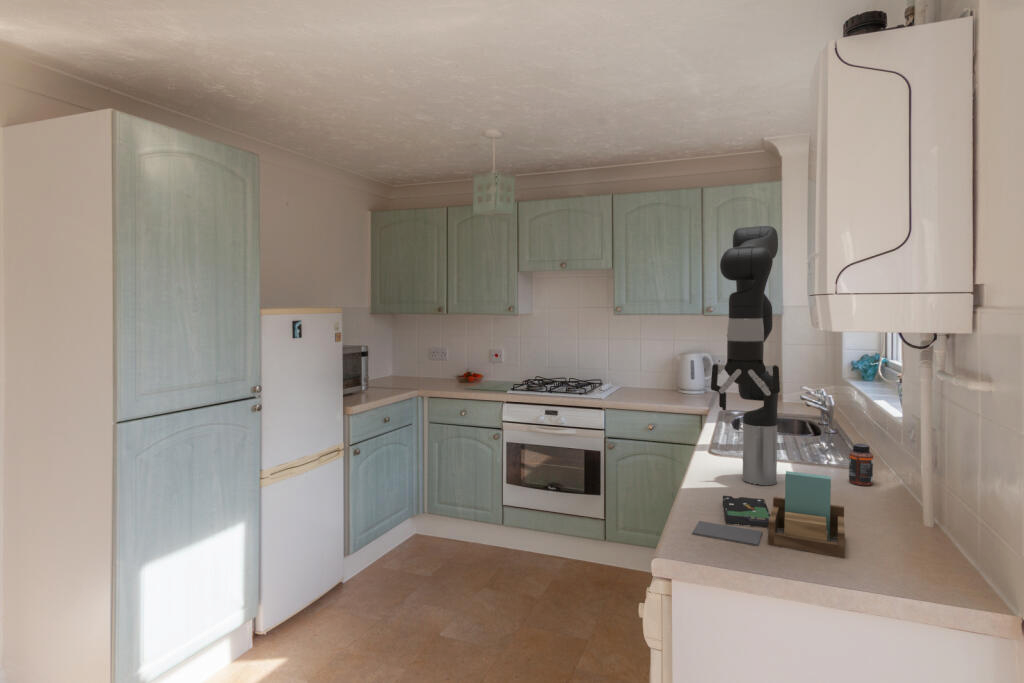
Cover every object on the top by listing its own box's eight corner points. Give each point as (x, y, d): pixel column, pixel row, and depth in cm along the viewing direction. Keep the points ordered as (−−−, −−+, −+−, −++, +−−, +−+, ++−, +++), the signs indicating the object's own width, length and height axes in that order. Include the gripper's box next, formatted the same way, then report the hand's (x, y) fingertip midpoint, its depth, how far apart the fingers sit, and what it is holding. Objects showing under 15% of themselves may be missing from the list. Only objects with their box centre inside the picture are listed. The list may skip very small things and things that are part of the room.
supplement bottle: (877, 485, 164) (878, 446, 163) (861, 487, 162) (862, 448, 162) (859, 479, 170) (860, 441, 169) (843, 481, 168) (844, 443, 167)
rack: (773, 525, 136) (773, 496, 135) (843, 536, 128) (844, 506, 128) (768, 544, 125) (768, 512, 125) (844, 557, 118) (844, 524, 118)
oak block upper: (784, 524, 129) (785, 511, 129) (825, 530, 126) (825, 517, 125) (784, 532, 125) (784, 519, 125) (826, 538, 121) (826, 524, 121)
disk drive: (721, 505, 151) (725, 525, 137) (721, 495, 151) (725, 514, 137) (764, 509, 148) (772, 530, 134) (764, 498, 148) (773, 518, 134)
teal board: (785, 530, 133) (786, 471, 132) (829, 537, 128) (830, 476, 127) (784, 534, 131) (785, 473, 130) (829, 541, 126) (830, 479, 125)
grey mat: (699, 522, 138) (699, 520, 138) (762, 533, 131) (762, 531, 131) (692, 534, 131) (692, 532, 131) (758, 546, 124) (758, 544, 124)
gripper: (780, 337, 128) (778, 409, 129) (712, 337, 134) (712, 406, 135) (781, 340, 121) (779, 415, 122) (710, 339, 127) (709, 411, 128)
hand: (744, 410), depth 128 cm, fingers open, 8 cm apart
